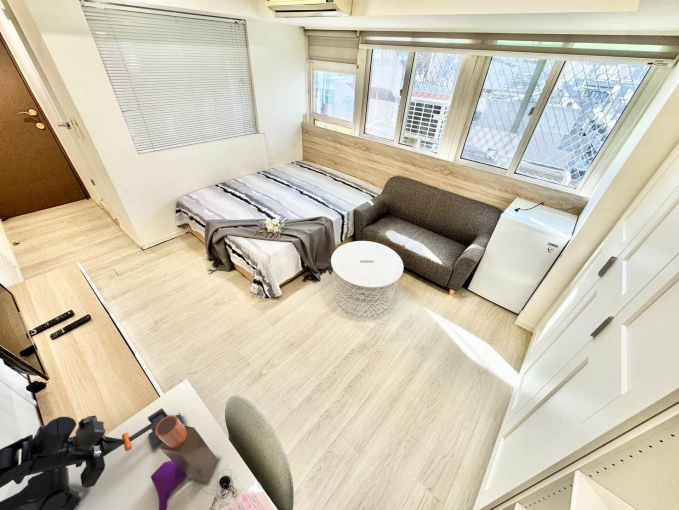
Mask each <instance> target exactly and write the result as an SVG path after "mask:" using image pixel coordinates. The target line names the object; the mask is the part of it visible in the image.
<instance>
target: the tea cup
mask: <svg viewBox="0 0 679 510" xmlns="http://www.w3.org/2000/svg"><path fill="white" fill-rule="evenodd" d="M156 435H157V436H158V437H159V438H160V439H161V440H162V441H163V442H164V443H165V444H166V445H167V446H168V447H169V448H176V447H178V446H180V445H181V444H182V443H183V442H184V441H185V439H186V437H187V430H186V428H185V427H184V426H183V424H182V423H181V422H180V421H179V419H178V418H177V417H176V416H175V415H173V414H171V415H169V414H168V416H167V417H165V418H163V419H162V420H161V421H160V422H159V423H158V425H157V427H156Z"/></svg>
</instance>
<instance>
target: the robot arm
mask: <svg viewBox="0 0 679 510" xmlns="http://www.w3.org/2000/svg"><path fill="white" fill-rule="evenodd" d="M104 424H105V423H104V421H101V420H98V418H97V415H91V416H89V415H88V416H86V417H84V418H82V419H80V421H78V427H77V421H76V420H75V419H74V418H72V417H70V416H58V417H55V418H54V419H52V420H50V421H48V422H47V424H45V425H41V426H39V427H38V429H37V430H36V433H35V435H34V434H30V435H28V436H27V435H26V436H25V437H23V438H22V437H21V438H20V439H18V440H16V441H15V442H13V443H10V444H8V445H6V446H4V447H2V448H0V489H1V488H3V487H5V486H6V485H8V484H9V483H11V482H12V481H13V482H14V483H15V484H16V485H20V484H21V483H22V482H23V481H24V479H25V477H28V476H31V475H33V476H31V477H30V478H28V480H27V484H26V485H25V486H24V487H23V488H22V489H21V490H19V492H17V493H15V494H13V495H11V496H9V497H6V498H4V499H2V500H1V501H0V510H75V508H76V507H77V506H78V504H79V503H80V501H82V498H81V496H80V492H79V490H78V489H76V488H74V487H72V486H71V484H70V474H69V467H70V466H73V465H75V468H79V467H82V465H83V463H85V467H84V468H83V470H82V471H81V473H80V482H81V487H82V488H83V489H88V488H91V487H95V486H96V484H97V483H98V481H99V479H100V477H101V476H102V474H103V472H104V471H105V468H106V463H105V462H106V461H105V457H106V456H107V455H108V454H110V453H112V452H114V451H115V450H117V449H118V448H120V447H122V446H124V442H125V441H124V439H122V438H117V437H110V436H106V435H105V434H106V429H105V427H104V426H105V425H104ZM76 427H77V428H76ZM75 428H76V430H75ZM74 430H75V432H74ZM73 432H74V433H75V435H73V436H71V434H72V433H73ZM20 450H21V451H20Z"/></svg>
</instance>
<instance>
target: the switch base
mask: <svg viewBox="0 0 679 510" xmlns="http://www.w3.org/2000/svg"><path fill="white" fill-rule="evenodd" d="M179 413H180V412H178V413H177V414H179ZM160 414H162V415H163V417H164V418H165V417H167V416H169V414H168V413H167V412H166V411H165V409H164V408H162V407H161V408H160V409H158V410H157V411H155V412H153V413H152V414H151V415H149V416H148V417H147V421H149V422H150V424H151V423H153V420H152V419H154V418H156V417H157V416H159V415H160ZM177 414H175V415H174V416H176V417H177V418H178V419H179V421H180V422H181V423H182V424H183V425H185V426H186V424H185V422H184V420H183V417H182V415H181V413H180V414H179V415H177ZM160 421H161V420H160ZM160 421H159V422H160ZM159 422H157V423H156V424H155V425H153V426H152V427H151V429H150V430H151V432H149V433H148V436H149V439H150V443H151V446H152V449H153V450H155V449H157V448H159V447H160V446H161V444H162V443H163V441H162V440H161V439H160V438H159V437H158V436H157V435H156V427H157V425H158V423H159Z"/></svg>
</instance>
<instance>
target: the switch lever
mask: <svg viewBox="0 0 679 510" xmlns="http://www.w3.org/2000/svg"><path fill="white" fill-rule="evenodd" d="M163 418H164V417H163V415H162V414H160V415H159V416H157V417H156V418H154V419H152V420H153V423H151V422H150V423H149V424H148V425H146V426H145V427H143V428H141V429H140V430H138V431H136V432H135V433H134V434H132V435H130V434H129V432H128V431H126V432H124V433H122V434H121V439H124V441H125V442H124V444H123V447H124V448H123V449H124V451H125V452H129V451H131V450H132V448H133V446H132V445H133V444H132V442H133V441H135V439H137V438H139V437H141V436H142V435H144V434H145V433H147V432H148V431H150V430H151V427H152V426H153V425H155V424H156V423H157V422H159V421H160V420H162V419H163Z"/></svg>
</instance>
